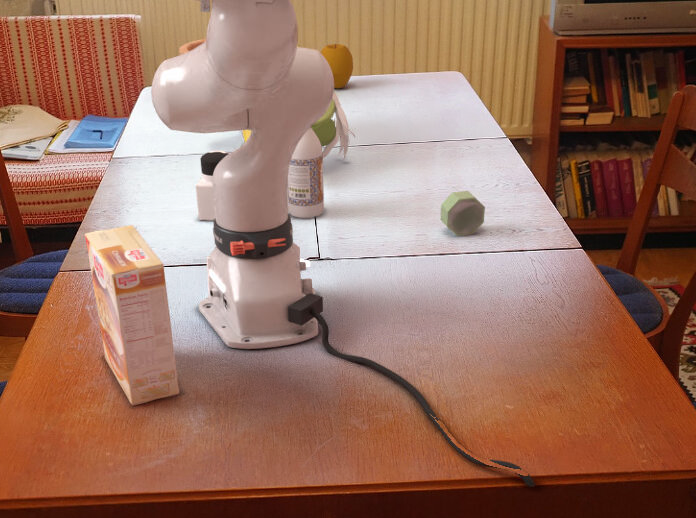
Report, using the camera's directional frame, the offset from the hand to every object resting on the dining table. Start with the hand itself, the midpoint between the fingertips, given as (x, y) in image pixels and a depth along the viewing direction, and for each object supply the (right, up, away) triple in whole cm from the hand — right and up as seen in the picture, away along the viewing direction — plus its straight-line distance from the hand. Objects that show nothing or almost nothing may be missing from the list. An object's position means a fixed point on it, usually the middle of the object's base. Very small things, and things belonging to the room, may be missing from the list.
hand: (234, 12), depth 157 cm
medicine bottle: (-5, -27, +31) cm, 42 cm away
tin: (+40, -29, +18) cm, 53 cm away
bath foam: (+12, -27, +31) cm, 42 cm away
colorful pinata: (+6, -8, +61) cm, 62 cm away
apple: (+21, +22, +108) cm, 112 cm away
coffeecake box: (-12, -60, -20) cm, 64 cm away
